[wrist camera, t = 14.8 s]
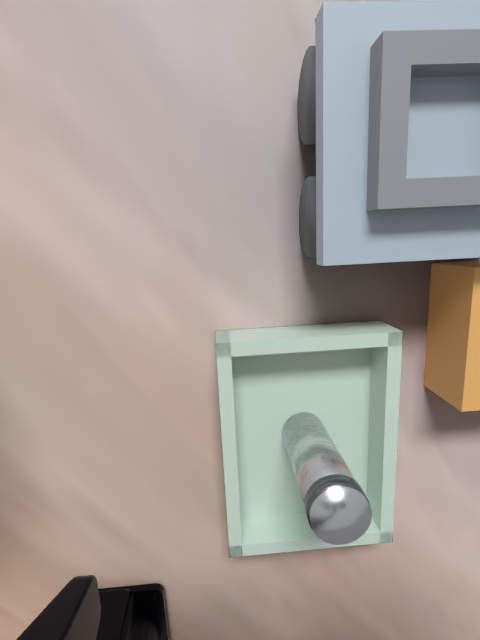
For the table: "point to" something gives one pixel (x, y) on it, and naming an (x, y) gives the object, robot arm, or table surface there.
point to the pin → (325, 482)
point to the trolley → (392, 132)
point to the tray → (314, 397)
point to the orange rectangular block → (454, 334)
